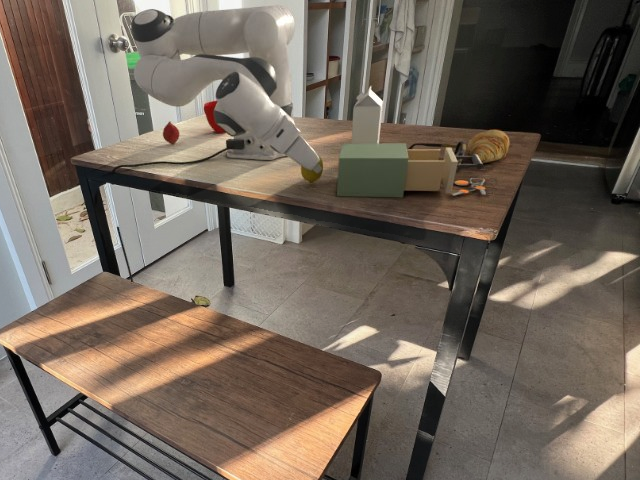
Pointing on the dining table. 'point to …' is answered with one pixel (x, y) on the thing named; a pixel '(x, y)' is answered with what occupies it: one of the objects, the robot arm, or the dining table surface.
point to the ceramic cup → (212, 116)
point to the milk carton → (367, 118)
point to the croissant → (489, 145)
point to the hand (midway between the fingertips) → (314, 166)
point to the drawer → (434, 169)
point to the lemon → (312, 173)
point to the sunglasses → (459, 147)
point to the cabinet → (372, 170)
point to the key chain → (474, 185)
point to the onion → (171, 133)
